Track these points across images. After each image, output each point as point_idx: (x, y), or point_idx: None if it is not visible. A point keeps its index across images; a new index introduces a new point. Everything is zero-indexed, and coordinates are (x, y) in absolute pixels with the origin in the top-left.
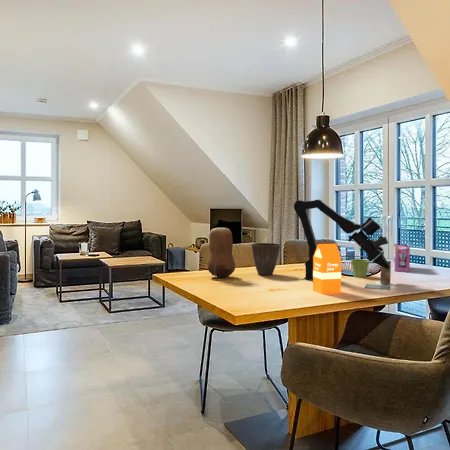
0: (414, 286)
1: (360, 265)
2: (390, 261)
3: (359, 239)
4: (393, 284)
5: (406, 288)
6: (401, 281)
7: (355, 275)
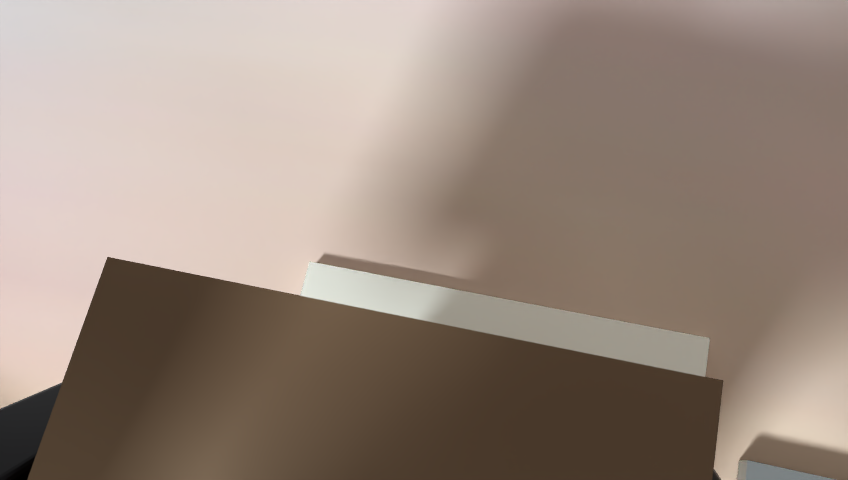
0: (547, 12)
1: None
2: (341, 315)
3: None
4: None
5: (826, 169)
6: (54, 141)
7: None
